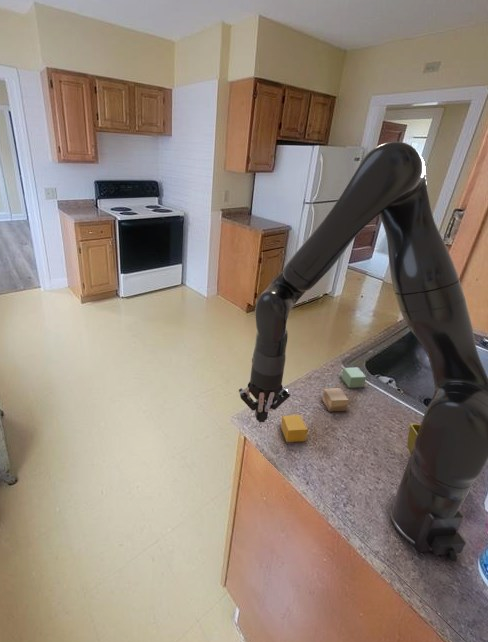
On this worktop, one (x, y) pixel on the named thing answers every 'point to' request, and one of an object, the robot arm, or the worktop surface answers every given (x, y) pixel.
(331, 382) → the worktop surface
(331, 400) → the maple block
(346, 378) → the sage block
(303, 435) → the mustard block
